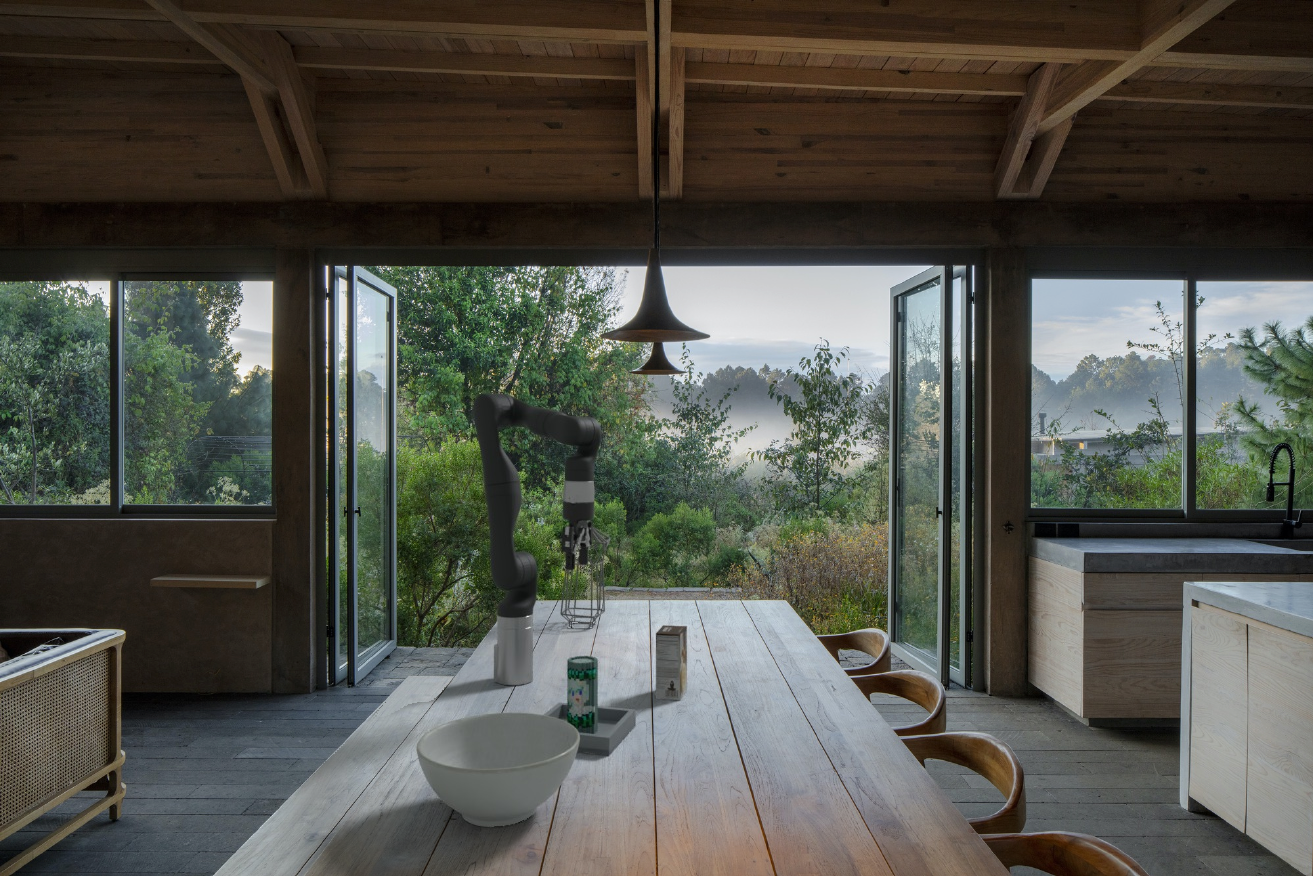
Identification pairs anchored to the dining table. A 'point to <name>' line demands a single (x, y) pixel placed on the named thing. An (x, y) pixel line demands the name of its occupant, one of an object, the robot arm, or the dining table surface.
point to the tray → (601, 728)
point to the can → (582, 693)
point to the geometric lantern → (591, 582)
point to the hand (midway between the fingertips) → (576, 566)
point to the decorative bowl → (498, 764)
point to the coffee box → (671, 662)
